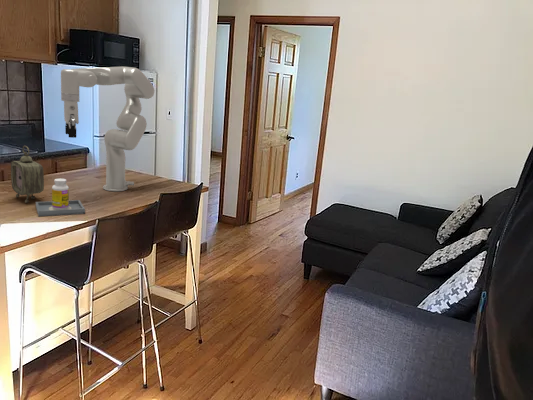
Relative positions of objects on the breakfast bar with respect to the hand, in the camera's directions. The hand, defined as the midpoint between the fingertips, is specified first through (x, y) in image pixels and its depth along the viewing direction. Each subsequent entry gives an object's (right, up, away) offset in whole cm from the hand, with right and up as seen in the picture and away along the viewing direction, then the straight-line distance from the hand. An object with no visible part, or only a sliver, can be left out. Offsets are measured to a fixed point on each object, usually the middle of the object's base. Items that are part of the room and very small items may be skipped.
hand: (70, 135), depth 203 cm
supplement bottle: (0, -33, -10) cm, 35 cm away
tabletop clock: (-20, -30, 0) cm, 35 cm away
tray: (0, -34, -10) cm, 35 cm away
